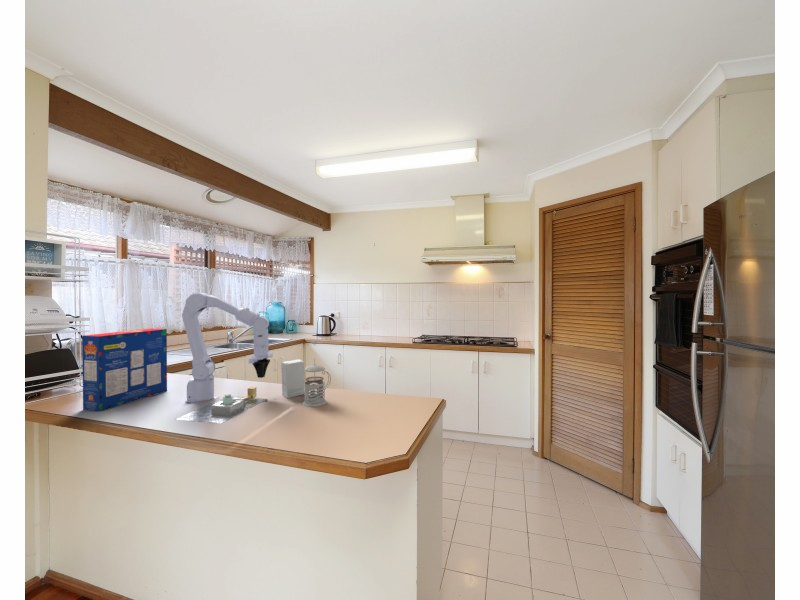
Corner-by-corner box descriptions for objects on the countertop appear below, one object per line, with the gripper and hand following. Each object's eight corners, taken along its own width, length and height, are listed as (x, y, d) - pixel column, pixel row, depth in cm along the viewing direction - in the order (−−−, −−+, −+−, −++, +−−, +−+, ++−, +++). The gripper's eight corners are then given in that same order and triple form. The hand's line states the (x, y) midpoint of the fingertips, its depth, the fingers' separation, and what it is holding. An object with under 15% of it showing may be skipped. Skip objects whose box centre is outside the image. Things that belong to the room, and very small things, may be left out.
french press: (298, 401, 139) (298, 340, 139) (324, 396, 146) (325, 338, 146) (307, 408, 132) (307, 343, 131) (335, 402, 138) (335, 340, 138)
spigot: (220, 411, 124) (220, 395, 124) (226, 409, 127) (227, 393, 127) (228, 412, 123) (228, 396, 123) (234, 409, 126) (234, 394, 126)
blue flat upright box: (152, 389, 156) (152, 328, 155) (167, 391, 154) (166, 328, 153) (83, 410, 128) (82, 335, 128) (99, 411, 126) (98, 336, 126)
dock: (174, 422, 116) (174, 410, 116) (228, 398, 143) (228, 389, 143) (221, 426, 113) (221, 414, 113) (267, 401, 140) (267, 391, 140)
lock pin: (235, 404, 131) (235, 393, 131) (251, 396, 141) (251, 386, 141) (240, 404, 130) (240, 394, 130) (256, 396, 140) (256, 387, 140)
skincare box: (299, 391, 153) (299, 358, 153) (305, 395, 149) (305, 360, 148) (280, 395, 148) (280, 361, 148) (286, 398, 143) (286, 363, 143)
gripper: (259, 348, 137) (259, 381, 138) (278, 343, 152) (278, 373, 152) (243, 347, 139) (244, 380, 139) (264, 342, 153) (264, 372, 153)
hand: (261, 377), depth 145 cm, fingers closed
